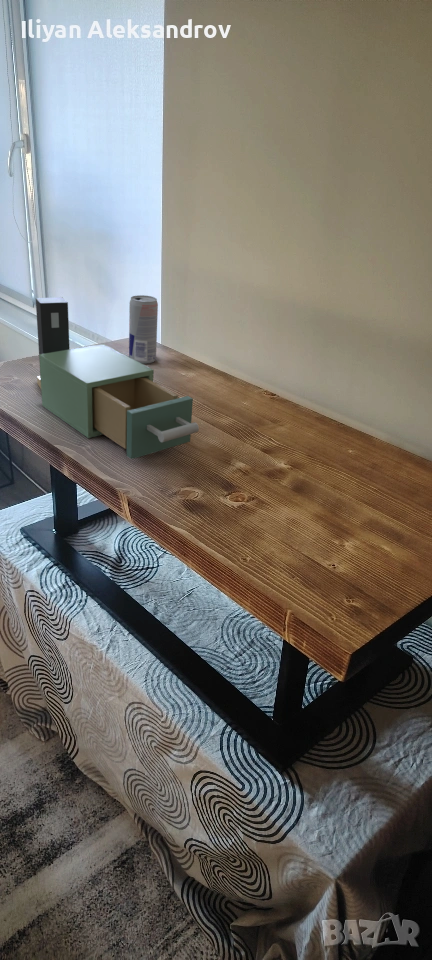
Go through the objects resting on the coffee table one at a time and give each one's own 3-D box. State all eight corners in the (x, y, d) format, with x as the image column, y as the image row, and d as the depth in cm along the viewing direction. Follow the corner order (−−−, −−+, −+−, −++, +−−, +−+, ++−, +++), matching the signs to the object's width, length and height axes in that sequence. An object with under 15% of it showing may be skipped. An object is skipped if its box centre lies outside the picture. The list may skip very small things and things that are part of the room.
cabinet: (152, 421, 99) (153, 369, 95) (88, 438, 92) (87, 383, 88) (103, 392, 108) (103, 343, 104) (42, 405, 101) (39, 354, 97)
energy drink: (139, 353, 127) (140, 293, 121) (161, 359, 125) (163, 298, 119) (123, 359, 123) (123, 298, 117) (145, 366, 121) (146, 303, 115)
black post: (37, 383, 109) (31, 296, 101) (67, 381, 111) (63, 295, 104) (44, 394, 105) (38, 304, 97) (74, 391, 107) (71, 303, 100)
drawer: (208, 452, 89) (212, 408, 86) (149, 472, 83) (150, 425, 79) (138, 410, 100) (139, 370, 97) (81, 425, 94) (80, 382, 90)
